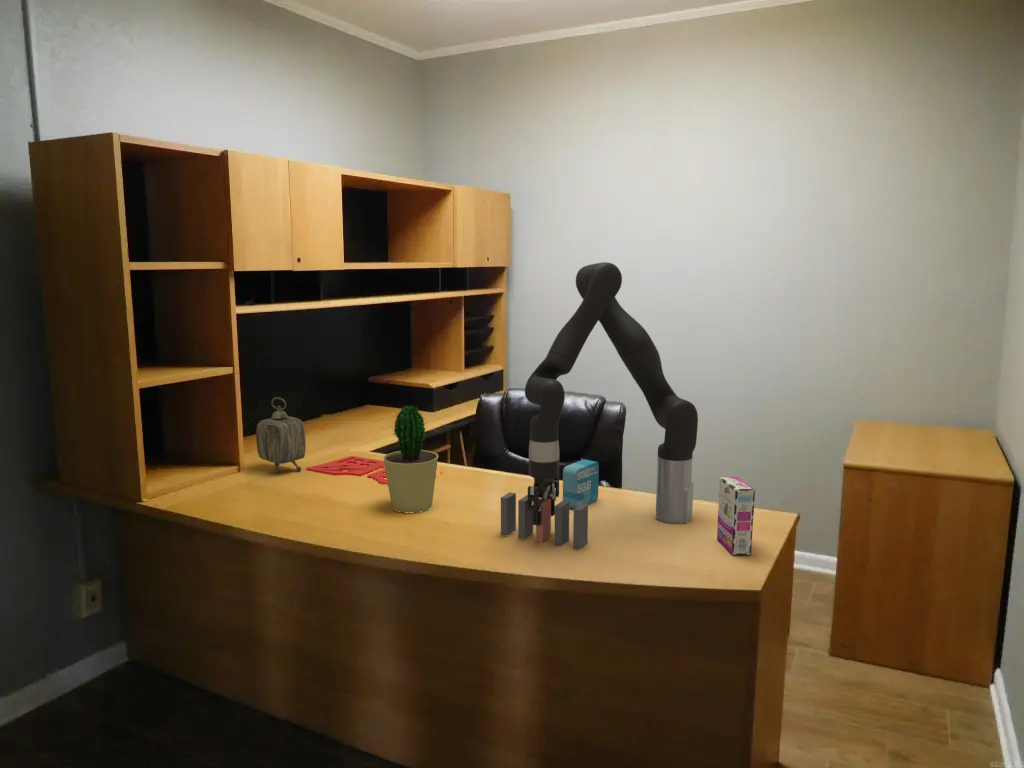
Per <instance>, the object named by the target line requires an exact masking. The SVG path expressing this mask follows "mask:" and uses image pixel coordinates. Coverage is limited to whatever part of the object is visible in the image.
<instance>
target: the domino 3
mask: <svg viewBox="0 0 1024 768" xmlns="http://www.w3.org/2000/svg"><path fill="white" fill-rule="evenodd" d="M539 503H540V502H539ZM541 511H542V518H541V525H540V526H536V525H535V542H536V541H537V542H538V543H541V542H542V544H543V543H545V542H546V541H547V540H548V539H549V538H551V537H552V516H551V499H550V498H546V501H545V503H543V506H542V510H541Z"/></svg>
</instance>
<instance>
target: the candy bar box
mask: <svg viewBox="0 0 1024 768" xmlns="http://www.w3.org/2000/svg"><path fill="white" fill-rule="evenodd" d="M718 492H719V493H718V509H717V510H718V512H717V513H718V514H717V531H716V540H717V541H718V543H720V544H721V545H722V547H724V548H725V549H726V550H727V552H729V554H731V555H732V556H751V555H752V548H753V547H752V545H753V543H752V542H753V528H754V526H753V525H754V513H755V500H756V499H755V497H756V489H755V488H754V487H752V486H751V485H750V484H748V483H747V482H745V481H744V480H742V479H741V478H740V477H738V476H730V477H729V476H726V477H725V476H723V477H719V491H718Z"/></svg>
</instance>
